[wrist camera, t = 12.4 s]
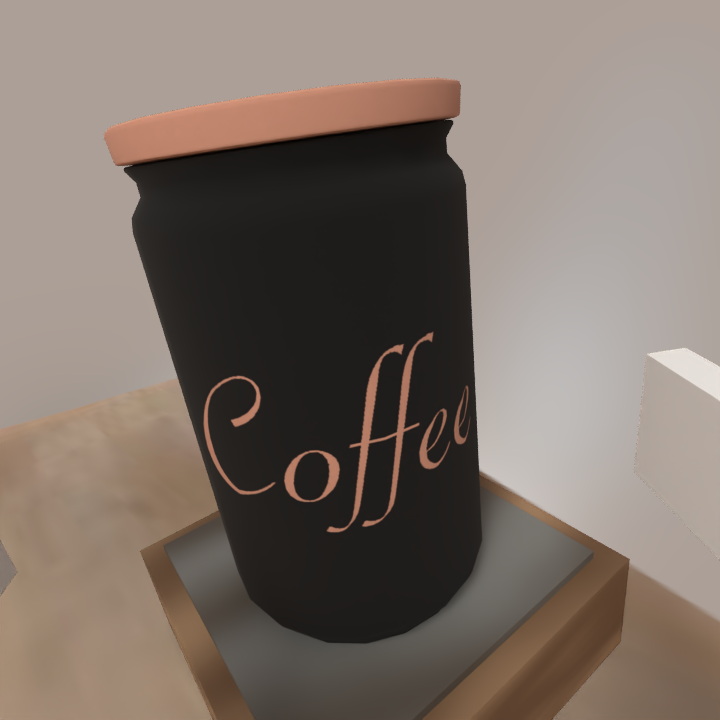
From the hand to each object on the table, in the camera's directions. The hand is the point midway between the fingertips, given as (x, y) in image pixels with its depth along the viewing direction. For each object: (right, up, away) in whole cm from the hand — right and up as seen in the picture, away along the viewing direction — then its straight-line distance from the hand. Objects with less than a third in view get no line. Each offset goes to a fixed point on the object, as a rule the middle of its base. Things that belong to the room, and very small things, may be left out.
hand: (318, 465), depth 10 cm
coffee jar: (+1, -7, +13) cm, 15 cm away
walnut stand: (+2, -11, +15) cm, 19 cm away
